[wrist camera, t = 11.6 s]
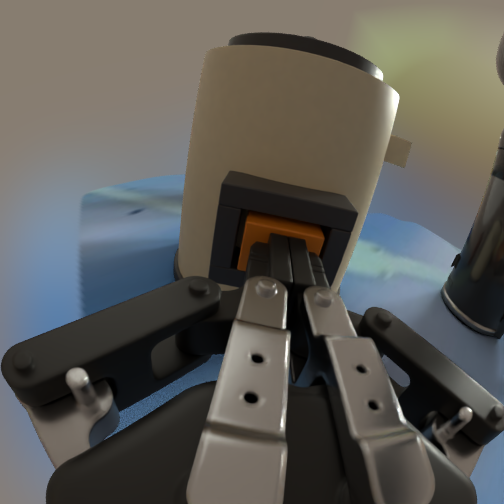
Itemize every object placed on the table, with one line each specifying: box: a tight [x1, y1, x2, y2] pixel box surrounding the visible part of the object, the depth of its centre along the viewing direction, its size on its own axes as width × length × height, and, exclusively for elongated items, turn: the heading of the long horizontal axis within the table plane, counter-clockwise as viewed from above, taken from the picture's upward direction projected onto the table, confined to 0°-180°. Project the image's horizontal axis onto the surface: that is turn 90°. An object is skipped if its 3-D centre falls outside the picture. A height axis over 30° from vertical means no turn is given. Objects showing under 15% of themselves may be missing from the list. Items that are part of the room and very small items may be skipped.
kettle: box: [174, 32, 412, 295], centre depth 20 cm, size 20×15×19 cm
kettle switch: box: [237, 210, 325, 271], centre depth 13 cm, size 2×3×2 cm
